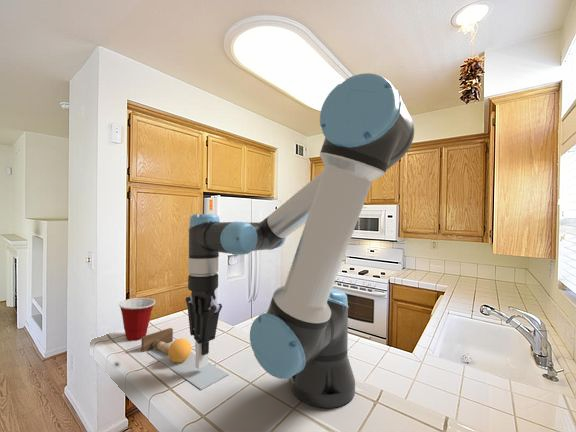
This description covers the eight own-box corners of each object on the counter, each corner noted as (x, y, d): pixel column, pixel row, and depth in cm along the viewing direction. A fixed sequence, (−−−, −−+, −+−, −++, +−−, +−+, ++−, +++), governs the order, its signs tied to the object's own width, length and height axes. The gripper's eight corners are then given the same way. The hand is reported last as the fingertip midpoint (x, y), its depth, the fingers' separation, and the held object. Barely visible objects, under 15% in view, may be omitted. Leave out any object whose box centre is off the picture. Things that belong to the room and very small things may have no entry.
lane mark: (228, 374, 67) (228, 374, 67) (201, 390, 60) (201, 389, 60) (173, 343, 84) (173, 342, 84) (147, 352, 78) (147, 351, 78)
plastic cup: (138, 346, 82) (139, 307, 82) (109, 342, 84) (110, 305, 84) (161, 332, 92) (162, 298, 93) (135, 329, 94) (136, 296, 95)
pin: (176, 345, 77) (159, 337, 82) (168, 349, 75) (151, 341, 80) (176, 353, 77) (160, 345, 82) (169, 357, 75) (152, 349, 80)
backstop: (172, 341, 85) (172, 329, 85) (143, 351, 78) (143, 338, 78) (170, 340, 86) (170, 327, 86) (141, 350, 79) (141, 336, 79)
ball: (181, 342, 78) (191, 359, 75) (161, 352, 73) (171, 371, 71) (187, 330, 76) (198, 348, 73) (167, 339, 71) (178, 358, 68)
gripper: (231, 274, 67) (229, 368, 66) (201, 268, 75) (200, 352, 74) (205, 279, 61) (203, 382, 60) (176, 272, 69) (174, 363, 68)
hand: (201, 365), depth 67 cm, fingers closed
